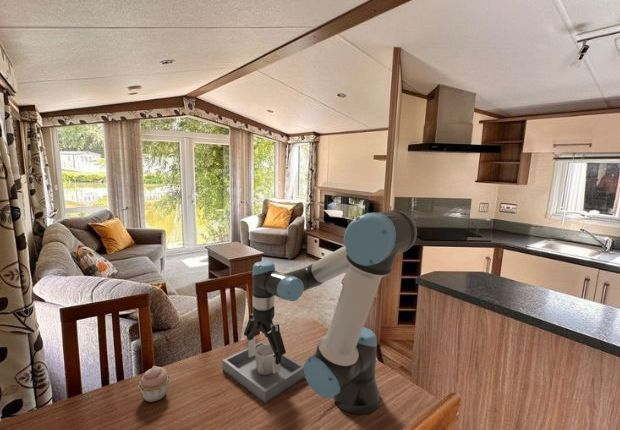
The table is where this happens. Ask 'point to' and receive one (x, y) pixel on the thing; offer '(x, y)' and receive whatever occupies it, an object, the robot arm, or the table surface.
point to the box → (260, 384)
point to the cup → (264, 359)
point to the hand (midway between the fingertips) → (263, 363)
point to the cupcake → (154, 384)
